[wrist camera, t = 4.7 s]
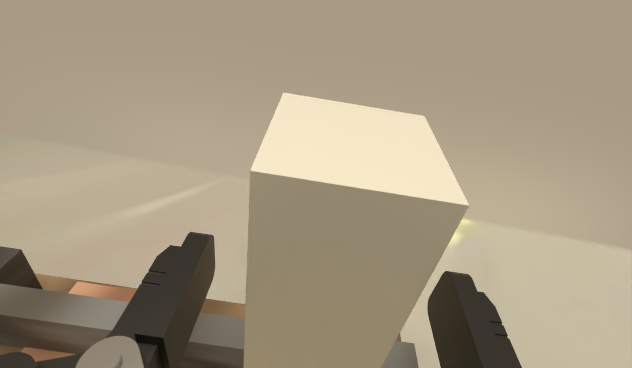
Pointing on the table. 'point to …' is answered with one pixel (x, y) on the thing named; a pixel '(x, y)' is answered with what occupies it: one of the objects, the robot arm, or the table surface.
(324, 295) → the tall cream pillar
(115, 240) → the table surface
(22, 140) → the table surface
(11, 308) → the rail base
